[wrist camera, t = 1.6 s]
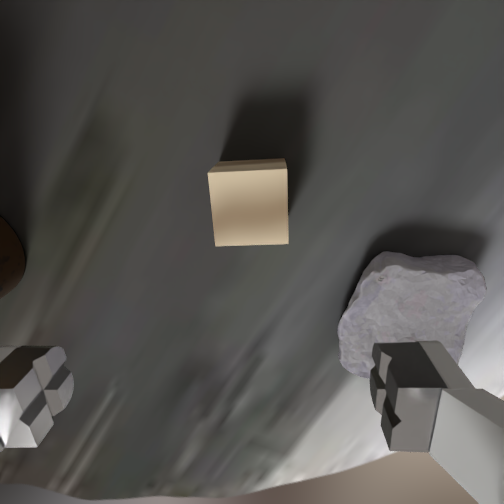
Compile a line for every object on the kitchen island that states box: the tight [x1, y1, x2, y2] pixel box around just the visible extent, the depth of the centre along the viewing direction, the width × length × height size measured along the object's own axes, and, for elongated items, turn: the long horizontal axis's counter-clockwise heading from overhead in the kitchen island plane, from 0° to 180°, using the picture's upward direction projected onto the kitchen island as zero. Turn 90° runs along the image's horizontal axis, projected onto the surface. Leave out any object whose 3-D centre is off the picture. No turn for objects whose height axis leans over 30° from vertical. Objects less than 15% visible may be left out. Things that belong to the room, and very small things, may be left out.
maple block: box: [208, 158, 288, 246], centre depth 25 cm, size 5×5×5 cm
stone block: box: [337, 251, 487, 379], centre depth 29 cm, size 12×5×10 cm
